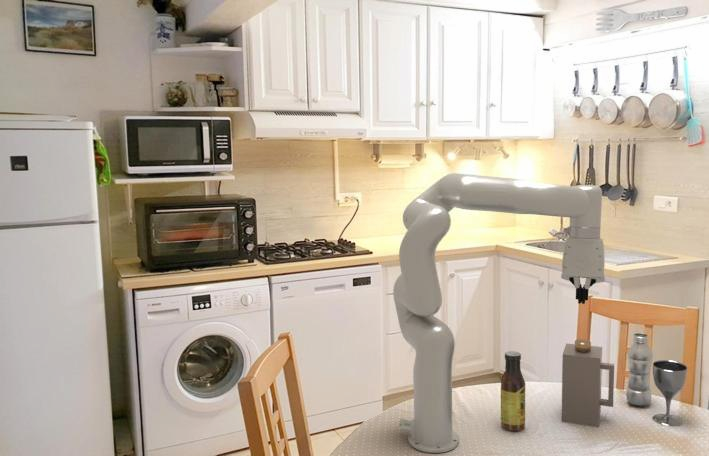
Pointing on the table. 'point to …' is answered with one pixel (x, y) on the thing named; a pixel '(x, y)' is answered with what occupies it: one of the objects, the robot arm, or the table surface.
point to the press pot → (584, 385)
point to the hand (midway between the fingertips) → (581, 302)
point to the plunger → (582, 345)
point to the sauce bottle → (512, 394)
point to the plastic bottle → (639, 371)
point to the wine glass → (669, 387)
